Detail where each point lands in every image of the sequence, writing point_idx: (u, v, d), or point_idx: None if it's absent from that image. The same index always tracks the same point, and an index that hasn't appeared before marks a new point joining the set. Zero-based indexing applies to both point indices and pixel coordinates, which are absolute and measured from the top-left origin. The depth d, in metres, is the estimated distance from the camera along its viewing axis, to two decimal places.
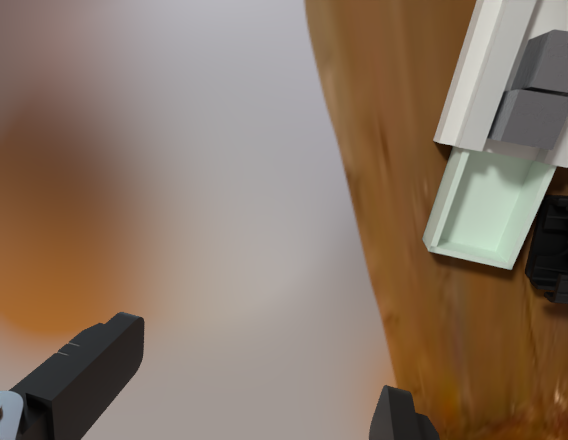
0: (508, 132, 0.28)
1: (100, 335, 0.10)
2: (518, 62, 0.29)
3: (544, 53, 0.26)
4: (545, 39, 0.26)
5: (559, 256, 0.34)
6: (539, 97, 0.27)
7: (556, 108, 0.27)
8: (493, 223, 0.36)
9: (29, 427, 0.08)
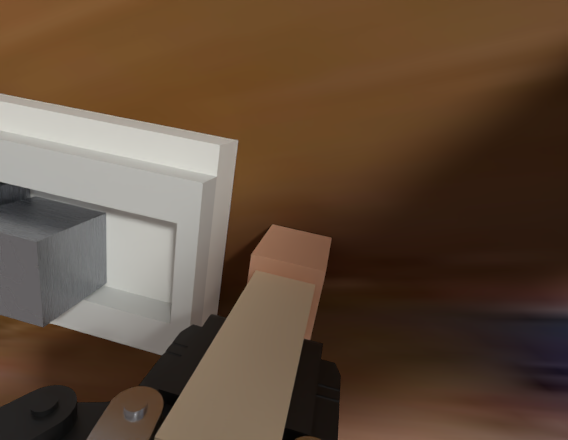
0: None
1: (203, 336, 0.11)
2: (74, 203, 0.17)
3: (4, 231, 0.14)
4: (42, 231, 0.14)
5: None
6: None
7: None
8: None
9: None
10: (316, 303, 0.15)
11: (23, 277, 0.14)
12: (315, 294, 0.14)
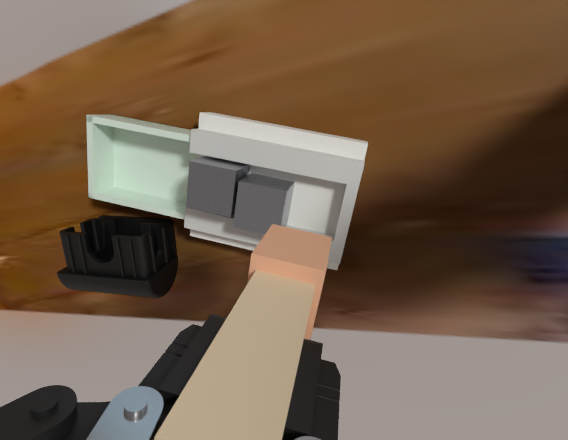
0: (197, 167, 0.28)
1: (203, 336, 0.11)
2: (275, 176, 0.31)
3: (267, 186, 0.27)
4: (282, 187, 0.28)
5: None
6: (229, 188, 0.28)
7: (221, 204, 0.28)
8: (138, 181, 0.36)
9: None
10: (316, 303, 0.15)
11: (274, 210, 0.28)
12: (315, 294, 0.14)
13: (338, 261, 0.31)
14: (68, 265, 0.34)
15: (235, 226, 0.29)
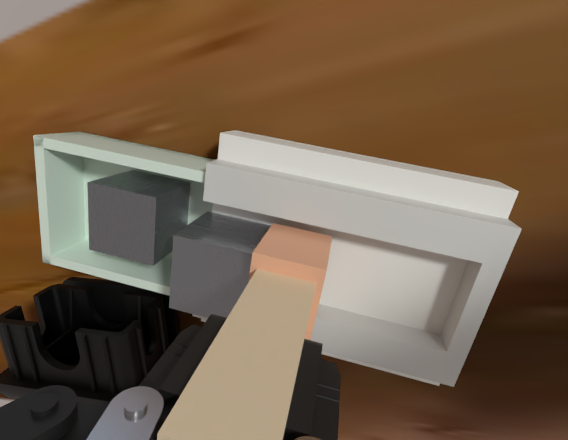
0: None
1: (203, 336, 0.11)
2: (346, 239, 0.19)
3: (223, 245, 0.16)
4: (249, 245, 0.16)
5: (92, 314, 0.25)
6: None
7: None
8: None
9: None
10: (317, 301, 0.15)
11: (235, 284, 0.16)
12: (316, 292, 0.15)
13: (451, 383, 0.18)
14: (11, 368, 0.22)
15: (173, 306, 0.17)
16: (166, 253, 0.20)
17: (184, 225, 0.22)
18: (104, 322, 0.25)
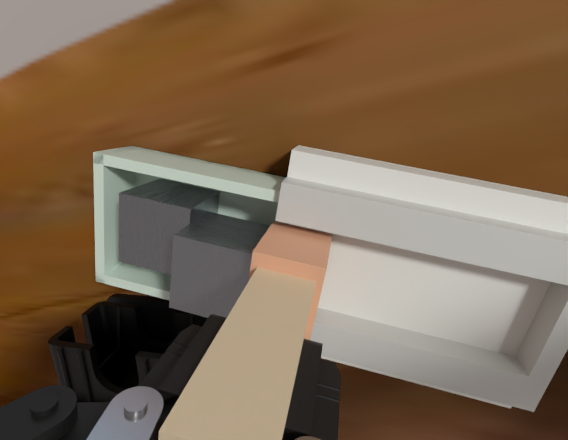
0: None
1: (203, 336, 0.11)
2: (420, 259, 0.18)
3: (223, 245, 0.16)
4: (249, 245, 0.16)
5: (140, 332, 0.24)
6: None
7: None
8: None
9: None
10: (317, 300, 0.15)
11: (235, 284, 0.16)
12: (316, 291, 0.15)
13: (531, 408, 0.18)
14: None
15: (173, 306, 0.17)
16: None
17: None
18: (151, 340, 0.25)
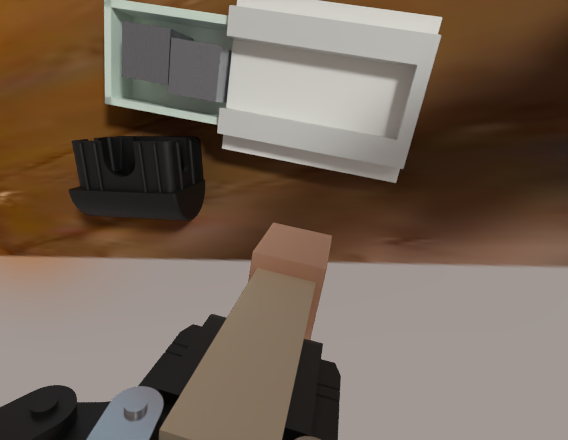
0: None
1: (203, 336, 0.11)
2: (327, 66, 0.26)
3: (201, 42, 0.26)
4: None
5: None
6: None
7: None
8: (161, 90, 0.31)
9: None
10: (317, 300, 0.15)
11: (209, 69, 0.26)
12: (316, 291, 0.15)
13: (401, 166, 0.26)
14: (81, 182, 0.29)
15: (170, 92, 0.27)
16: None
17: None
18: None
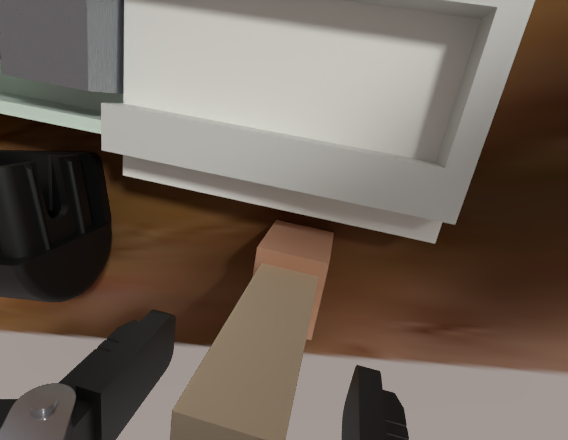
0: None
1: (137, 332, 0.10)
2: (304, 21, 0.13)
3: None
4: None
5: None
6: None
7: None
8: None
9: (80, 419, 0.08)
10: (319, 295, 0.15)
11: (70, 26, 0.13)
12: (318, 286, 0.15)
13: (452, 218, 0.13)
14: None
15: (6, 72, 0.14)
16: None
17: None
18: None
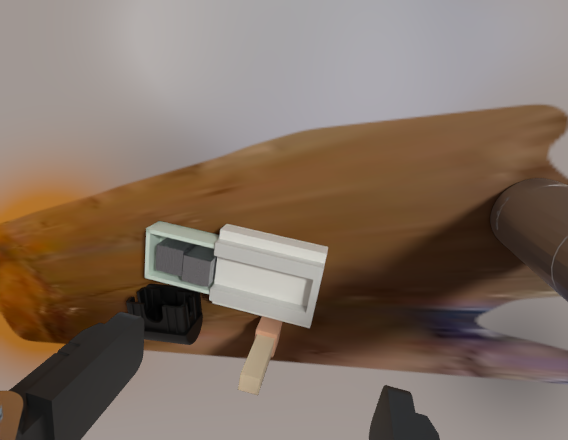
0: None
1: (100, 335, 0.10)
2: (269, 269, 0.48)
3: (200, 258, 0.47)
4: (209, 258, 0.48)
5: (161, 300, 0.54)
6: None
7: None
8: None
9: (28, 427, 0.07)
10: (275, 343, 0.50)
11: (204, 272, 0.48)
12: (274, 341, 0.50)
13: (309, 325, 0.48)
14: None
15: (183, 279, 0.49)
16: None
17: None
18: (166, 304, 0.55)
